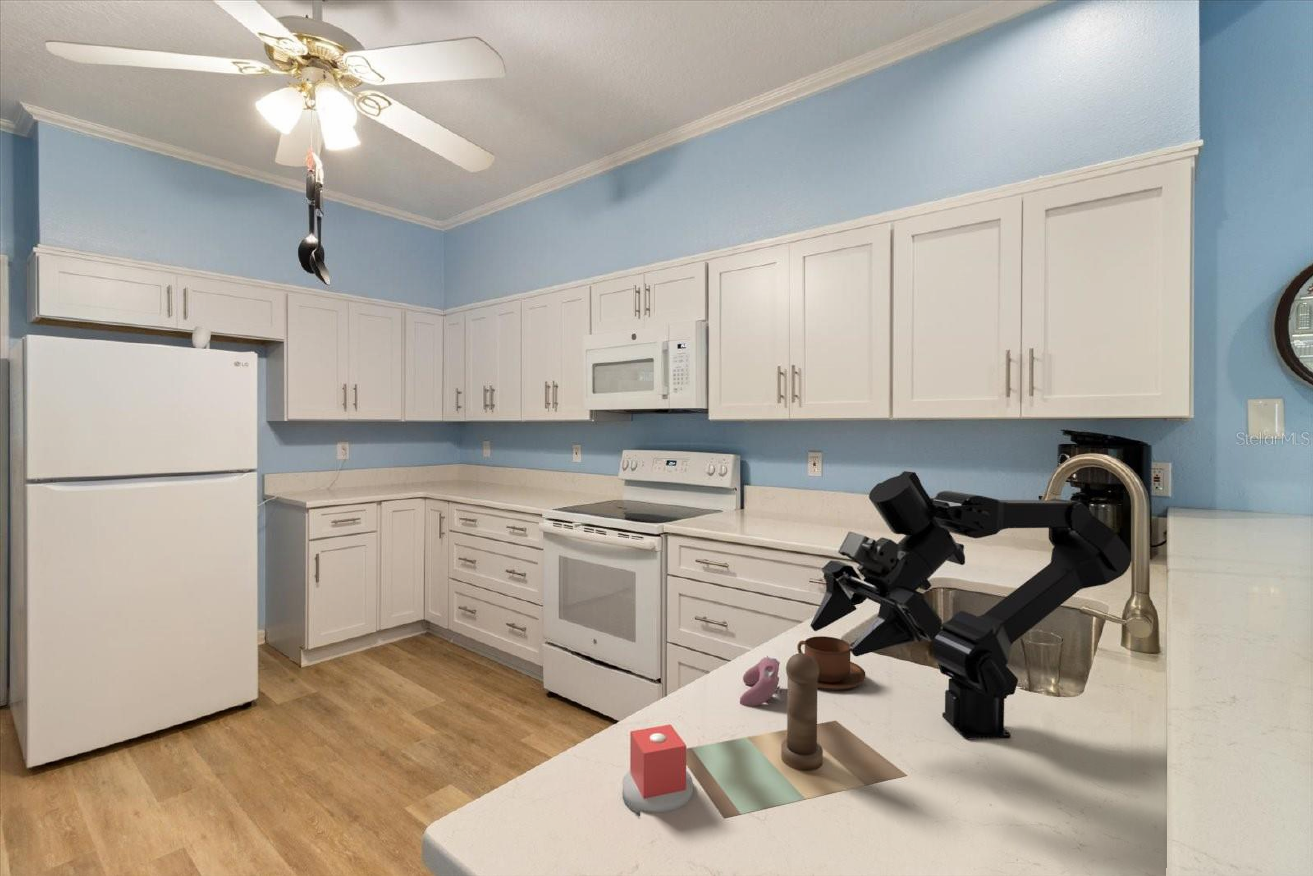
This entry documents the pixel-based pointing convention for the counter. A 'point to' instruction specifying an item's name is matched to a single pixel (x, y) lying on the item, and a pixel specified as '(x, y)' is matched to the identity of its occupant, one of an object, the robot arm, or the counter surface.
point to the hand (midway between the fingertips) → (831, 640)
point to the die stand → (657, 771)
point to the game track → (783, 770)
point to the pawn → (802, 715)
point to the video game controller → (761, 682)
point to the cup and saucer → (833, 663)
